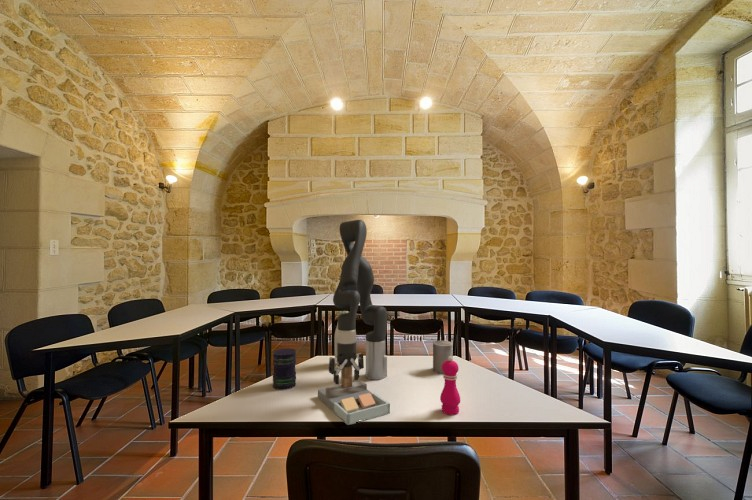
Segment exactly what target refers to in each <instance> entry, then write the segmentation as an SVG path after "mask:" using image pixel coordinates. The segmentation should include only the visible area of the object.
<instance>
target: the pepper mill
mask: <svg viewBox="0 0 752 500" xmlns="http://www.w3.org/2000/svg"><path fill="white" fill-rule="evenodd" d="M453 359H454V358H452V357H451V356H449V357H448V360H447V361H445V362H444V363H443V364H442V370H443V372H444V374H443V373H442V375H443V379H444V383H443V385H444V386H443V389H442V391H441V394H440V398H439V399H440V400H439V401H440V402H441V412H442V413H443V414H446V415H449V416H451V415H452V416H455V415H457V414H459V413H460V406H459V405H460V404H461V396H460V393H459V391H458V388H457V379H458V374H457V373H458V372H459V364H458V362H456V361H454V360H453ZM452 360H453V361H452Z"/></svg>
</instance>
